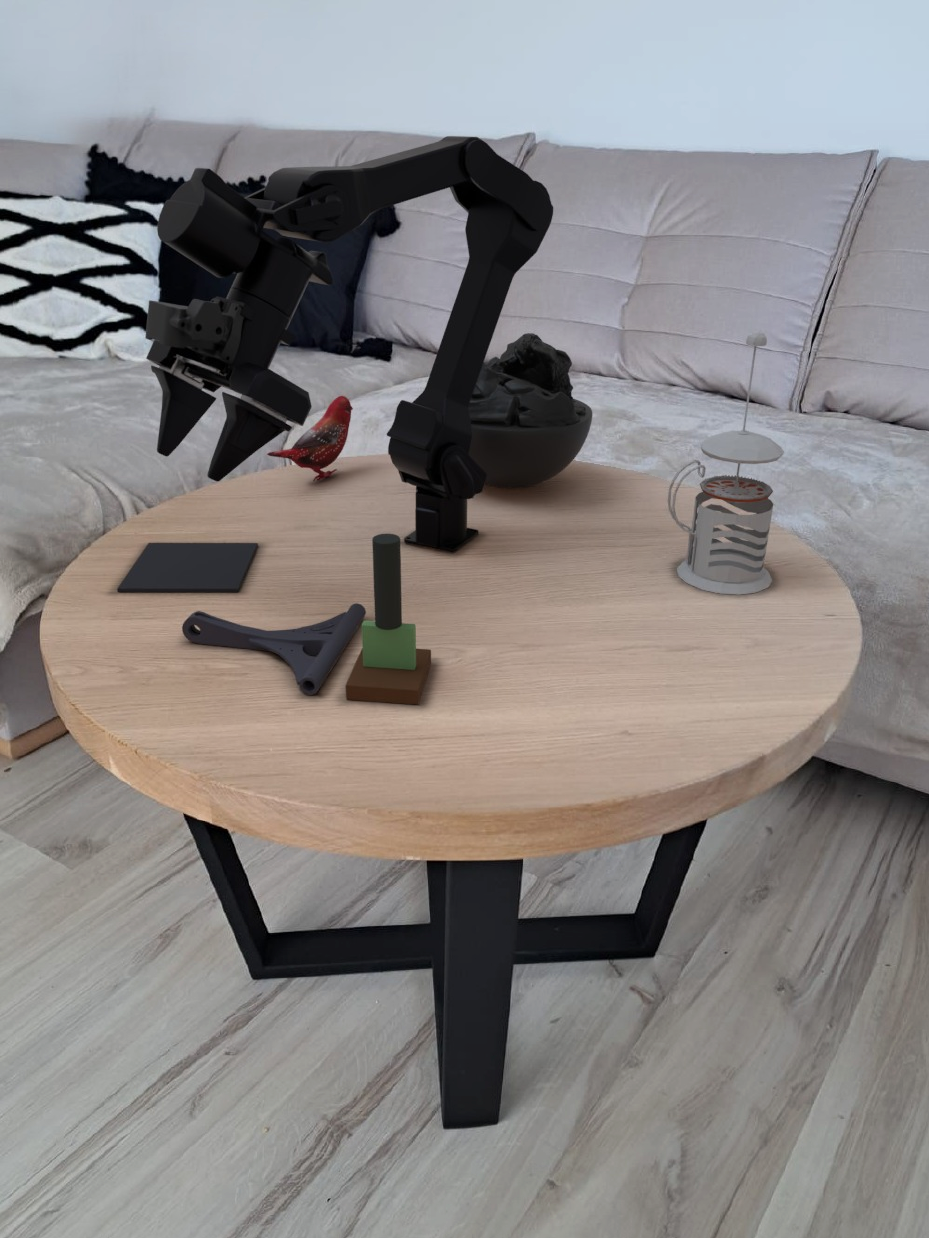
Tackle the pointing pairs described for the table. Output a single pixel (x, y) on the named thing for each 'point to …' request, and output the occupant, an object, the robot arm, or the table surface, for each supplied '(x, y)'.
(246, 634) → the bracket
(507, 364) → the bowl of black rocks
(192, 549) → the mat
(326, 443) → the decorative bird figurine
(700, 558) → the french press
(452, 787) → the table surface
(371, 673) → the rubber stamp
